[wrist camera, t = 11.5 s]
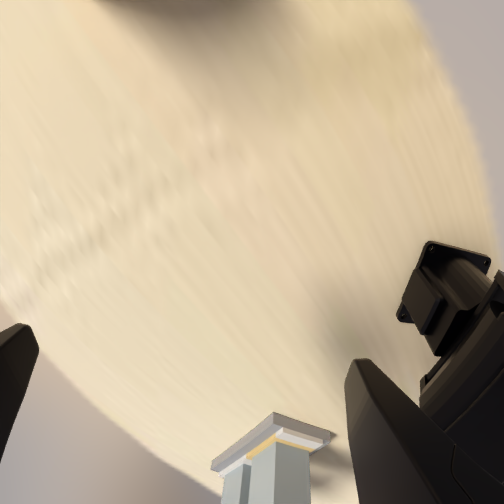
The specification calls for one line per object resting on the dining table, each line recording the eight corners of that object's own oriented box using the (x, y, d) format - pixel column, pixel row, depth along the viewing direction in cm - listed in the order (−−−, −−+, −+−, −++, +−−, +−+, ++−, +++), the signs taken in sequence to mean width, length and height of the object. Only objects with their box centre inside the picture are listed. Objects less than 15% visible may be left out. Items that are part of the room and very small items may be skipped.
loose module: (275, 441, 27) (271, 543, 17) (308, 450, 28) (311, 546, 18) (252, 457, 29) (243, 549, 19) (283, 466, 29) (281, 554, 19)
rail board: (273, 412, 28) (272, 428, 26) (329, 431, 29) (331, 446, 27) (212, 460, 33) (209, 473, 31) (261, 475, 34) (260, 488, 32)
